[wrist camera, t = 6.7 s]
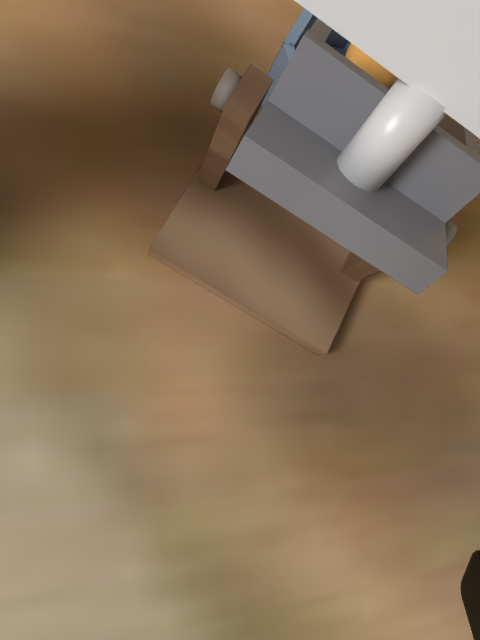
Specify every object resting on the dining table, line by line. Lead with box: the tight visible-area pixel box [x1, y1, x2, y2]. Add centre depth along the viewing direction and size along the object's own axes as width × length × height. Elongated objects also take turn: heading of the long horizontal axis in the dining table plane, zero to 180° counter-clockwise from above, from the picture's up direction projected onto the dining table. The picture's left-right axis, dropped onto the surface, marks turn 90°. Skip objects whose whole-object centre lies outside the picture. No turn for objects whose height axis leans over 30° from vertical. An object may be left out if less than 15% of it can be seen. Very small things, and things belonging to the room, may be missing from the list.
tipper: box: [226, 0, 480, 295], centre depth 13 cm, size 10×11×8 cm
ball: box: [345, 43, 398, 88], centre depth 24 cm, size 3×3×3 cm
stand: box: [148, 64, 457, 355], centre depth 19 cm, size 8×11×7 cm
